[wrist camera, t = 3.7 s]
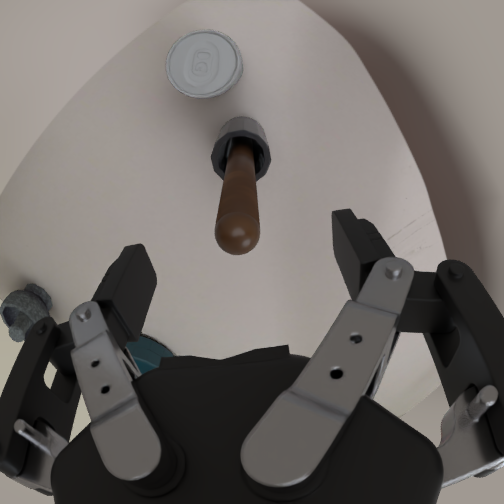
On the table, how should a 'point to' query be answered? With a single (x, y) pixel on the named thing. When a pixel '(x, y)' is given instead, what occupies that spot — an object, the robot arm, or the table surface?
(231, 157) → the stick
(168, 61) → the beverage can
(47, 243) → the table surface
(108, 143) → the table surface
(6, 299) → the mortar and pestle
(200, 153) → the table surface
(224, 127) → the crock
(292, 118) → the table surface
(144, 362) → the bowl
